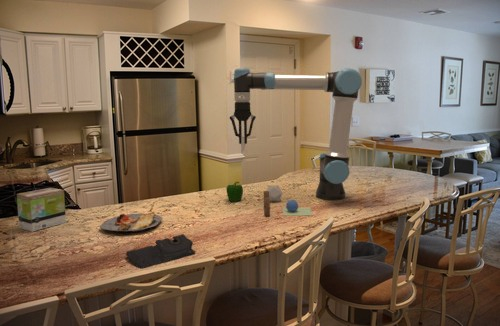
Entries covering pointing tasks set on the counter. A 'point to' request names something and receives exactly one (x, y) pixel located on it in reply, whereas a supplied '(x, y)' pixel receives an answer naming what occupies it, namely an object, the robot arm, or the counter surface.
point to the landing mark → (298, 212)
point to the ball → (292, 205)
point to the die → (274, 193)
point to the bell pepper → (234, 192)
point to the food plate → (131, 222)
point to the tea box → (41, 209)
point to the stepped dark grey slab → (161, 252)
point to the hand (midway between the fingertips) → (243, 150)
